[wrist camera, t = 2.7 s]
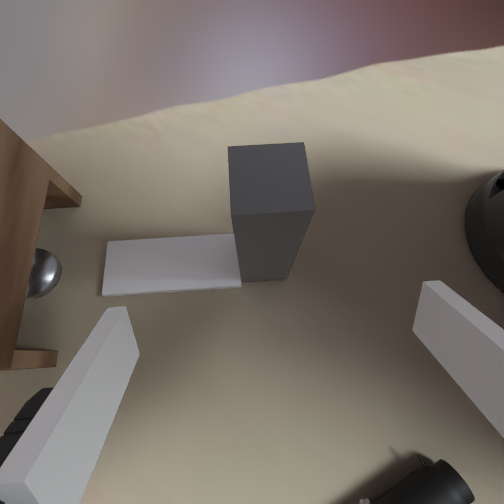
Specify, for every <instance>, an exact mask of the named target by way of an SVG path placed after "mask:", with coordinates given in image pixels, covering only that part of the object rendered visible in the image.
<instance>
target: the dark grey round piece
mask: <svg viewBox="0 0 504 504" xmlns="http://www.w3.org/2000/svg"><path fill="white" fill-rule="evenodd" d="M61 273H62V266H61V263H60V260H59V259H58V258H57V257H56V256H55V255H53V254H51V253H50V252H48V251H46V250H43V249H38V248H35V253H34V258H33V263H32V268H31V272H30V277H29V282H28V287H27V292H26V297H25V298H27V299H35V298H39V297H42V296H44V295H46V294H47V293H49V292H50V291H51V290H52V289H53V288H54V287H55V286H56V285H57V283H58V282H59V280H60V277H61Z"/></svg>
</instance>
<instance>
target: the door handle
mask: <svg viewBox="0 0 504 504" xmlns="http://www.w3.org/2000/svg"><path fill="white" fill-rule="evenodd" d="M417 456H418V458H419V459H420V461H421V462H422V464H423V466H421V467H420V468H419V469H417V470H416V471H414V472H413V473H412V474H410V475H409V476H408V477H406V478H405V479H403V480H402V481H401V482H399V483H398V484H396V485H395V486H394V487H392V488H391V489H389V490H388V491H387V492H385V493H384V494H382V495H381V496H380V497H378V498H377V499H375V500H374V501H373V502H370V501H369V499H368V498H366V499H361V500H360V502H359V504H471V503H472V502H473V501H474V500H475V499H474V495H473V493H472V491H471V490H470V488H469V487H468V485H467V484H466V482H465V481H464V480H463V478H462V477H461V476H460V475H459V474H458V472H457V471H456V470H455V469H454V468H453V467H452V466H451V465H449V464H448V463H447V462H446V461H444V460H442V459H440V460H439V461H437V462H436V463H434V464H425V462H424V461H422V460H423V459H421V457H420V456H419V455H417Z"/></svg>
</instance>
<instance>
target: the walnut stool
mask: <svg viewBox="0 0 504 504" xmlns="http://www.w3.org/2000/svg"><path fill="white" fill-rule="evenodd" d="M81 199H82V196H81V195H80V194H79V193H78V192H77V191H76V190H75V189H74V188H73V187H72V186H71V185H70V184H69V183H68V182H67V181H66V180H64V179H63V178H62V177H61V176H60V175H59V174H58V173H57V172H56V171H55V170H54V169H53V168H52V167H51V166H50V165H49V164H48V163H46V162H45V161H44V160H43V159H42V158H41V157H40V156H39V155H38V154H37V153H36V152H35V151H34V150H33V149H32V148H31V147H29V146H28V145H27V144H26V143H25V142H24V141H23V140H22V139H21V138H20V137H19V136H18V135H17V134H16V133H15V132H14V131H12V130H11V129H10V128H9V127H8V126H7V125H6V124H5V123H4V122H3V121H2V120H1V119H0V371H4V370H18V369H32V368H45V367H56V360H57V354H58V351H34V350H15V346H16V341H17V336H18V331H19V326H20V321H21V317H22V312H23V307H24V302H25V297H26V292H27V287H28V282H29V277H30V272H31V268H32V263H33V258H34V253H35V248H36V243H37V238H38V233H39V228H40V223H41V219H42V214H43V209H48V208H64V207H80V205H81Z"/></svg>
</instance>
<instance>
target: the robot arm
mask: <svg viewBox="0 0 504 504" xmlns="http://www.w3.org/2000/svg"><path fill="white" fill-rule="evenodd" d="M466 233H467V238H468V241H469V245H470V247H471V250H472V252H473V254H474V256H475V258H476V260H477V262H478V263H479V265H480V266H481V268H482V269H483V271H484V272H485V273H486V275H487V276H488V277H489V278H490V279H491V280H492V281H493V283H494V284H495V285H496V286H497V287H499V288H500V289H501V290H502V291H503V292H504V170H502V171H501V172H499V173H498V174H496V175H495V176H494V177H492V178H491V179H490V180H488V181H487V182H486V183H484V184H483V185H482V186H481V187H480V188H479V189H478V190H477V191H476V192H475V193H474V195H473V196H472V198H471V200H470V202H469V205H468V208H467V212H466ZM412 331H413V332H414V333H415V334H416V336H417V337H418V338H419V339H420V340H421V342H422V343H423V344H424V345H425V346H426V347H427V349H428V350H429V351H430V352H431V353H432V354H433V356H434V357H435V358H436V359H437V360H438V362H439V363H440V364H441V365H442V366H443V367H444V369H445V370H446V371H447V372H448V373H449V375H450V376H451V377H452V378H453V379H454V380H455V382H456V383H457V384H458V385H459V386H460V387H461V389H462V390H463V391H464V392H465V393H466V395H467V396H468V397H469V398H470V399H471V400H472V402H473V403H474V404H475V405H476V406H477V408H478V409H479V410H480V411H481V412H482V413H483V415H484V416H485V417H486V418H487V419H488V420H489V422H490V423H491V424H492V425H493V426H494V428H495V429H496V430H497V431H498V432H499V433H500V435H501V436H502V437H503V438H504V330H503V329H502V328H501V327H500V326H498V325H497V324H496V323H494V322H493V321H492V320H491V319H489V318H488V317H487V316H485V315H484V314H483V313H482V312H480V311H479V310H478V309H476V308H475V307H474V306H472V305H471V304H470V303H469V302H467V301H466V300H465V299H463V298H462V297H461V296H460V295H458V294H457V293H456V292H454V291H453V290H452V289H451V288H449V287H448V286H447V285H445V284H444V283H443V282H442V281H440V280H436V281H424V282H423V284H422V289H421V293H420V298H419V302H418V307H417V311H416V316H415V320H414V324H413V329H412ZM139 355H140V353H139V349H138V346H137V343H136V339H135V336H134V332H133V329H132V326H131V322H130V319H129V315H128V312H127V309H126V306H119V307H108V308H107V309H106V311H105V312H104V314H103V315H102V317H101V318H100V320H99V321H98V323H97V324H96V326H95V327H94V329H93V330H92V332H91V333H90V335H89V336H88V338H87V339H86V341H85V342H84V344H83V345H82V347H81V348H80V350H79V351H78V353H77V354H76V356H75V357H74V359H73V360H72V361H71V363H70V364H69V366H68V367H67V369H66V370H65V372H64V373H63V375H62V376H61V378H60V379H59V381H58V382H57V384H56V385H55V387H53V388H42V389H41V390H40V391H39V392H38V393H36V394H35V395H34V396H33V397H32V398H31V399H30V400H28V401H27V402H26V403H25V405H24V406H23V407H22V409H21V410H20V411H19V413H18V414H17V415H16V417H15V418H14V422H11V424H10V425H9V426H8V428H7V429H6V430H5V432H4V435H3V436H1V437H0V504H80V503H81V500H82V498H83V495H84V493H85V490H86V488H87V485H88V483H89V480H90V478H91V475H92V473H93V470H94V468H95V465H96V463H97V460H98V458H99V455H100V453H101V450H102V448H103V445H104V443H105V440H106V438H107V435H108V433H109V430H110V428H111V425H112V423H113V420H114V418H115V415H116V413H117V410H118V408H119V405H120V403H121V400H122V398H123V395H124V393H125V390H126V388H127V385H128V383H129V380H130V378H131V375H132V373H133V370H134V368H135V365H136V363H137V360H138V358H139Z"/></svg>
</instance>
